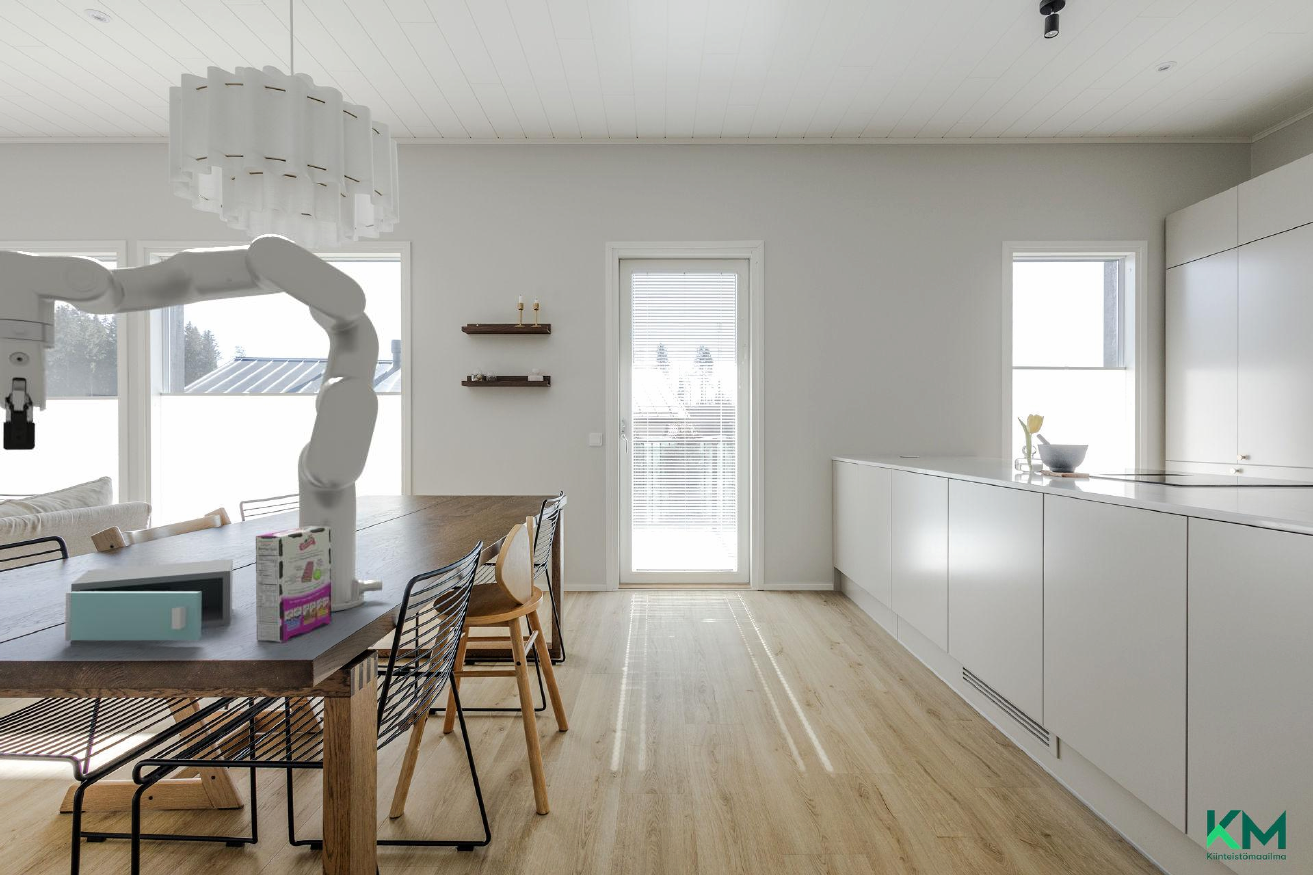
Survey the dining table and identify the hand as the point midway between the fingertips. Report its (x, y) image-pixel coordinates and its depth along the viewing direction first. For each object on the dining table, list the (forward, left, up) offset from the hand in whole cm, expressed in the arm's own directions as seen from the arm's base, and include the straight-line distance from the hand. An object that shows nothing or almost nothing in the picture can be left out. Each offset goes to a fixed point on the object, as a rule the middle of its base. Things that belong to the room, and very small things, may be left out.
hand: (19, 449), depth 98 cm
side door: (-15, +11, -28) cm, 34 cm away
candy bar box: (-36, +15, -30) cm, 49 cm away
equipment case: (-17, -1, -29) cm, 34 cm away
